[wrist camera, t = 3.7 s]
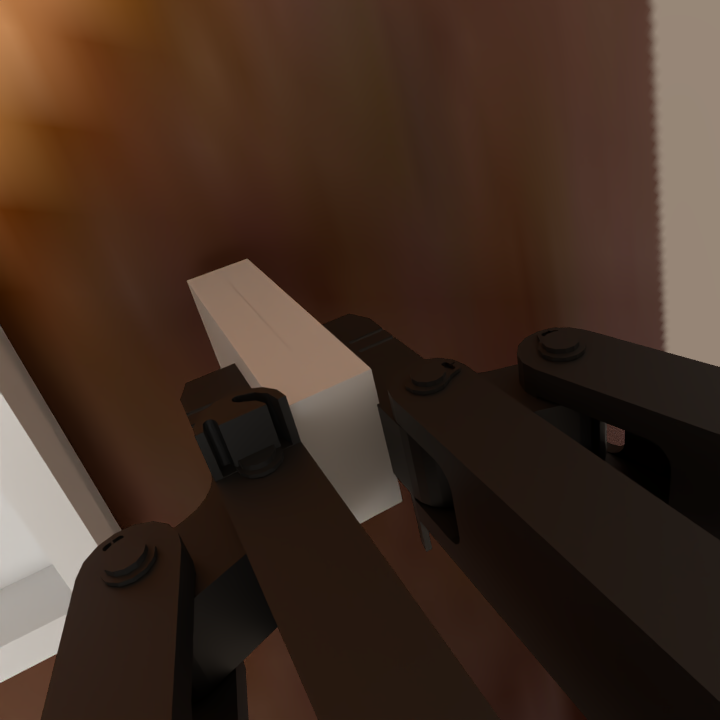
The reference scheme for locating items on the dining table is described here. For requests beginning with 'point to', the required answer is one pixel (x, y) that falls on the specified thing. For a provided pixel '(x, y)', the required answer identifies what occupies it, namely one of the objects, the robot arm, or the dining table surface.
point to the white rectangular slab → (39, 520)
